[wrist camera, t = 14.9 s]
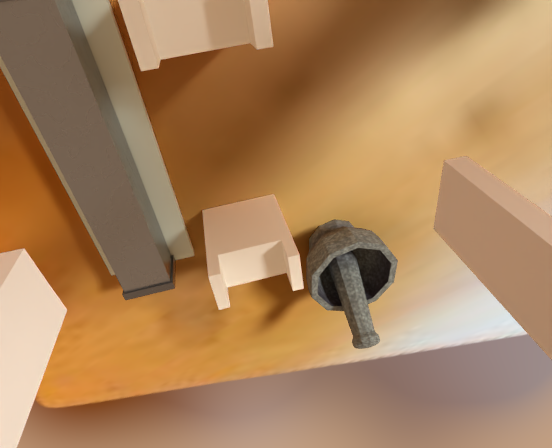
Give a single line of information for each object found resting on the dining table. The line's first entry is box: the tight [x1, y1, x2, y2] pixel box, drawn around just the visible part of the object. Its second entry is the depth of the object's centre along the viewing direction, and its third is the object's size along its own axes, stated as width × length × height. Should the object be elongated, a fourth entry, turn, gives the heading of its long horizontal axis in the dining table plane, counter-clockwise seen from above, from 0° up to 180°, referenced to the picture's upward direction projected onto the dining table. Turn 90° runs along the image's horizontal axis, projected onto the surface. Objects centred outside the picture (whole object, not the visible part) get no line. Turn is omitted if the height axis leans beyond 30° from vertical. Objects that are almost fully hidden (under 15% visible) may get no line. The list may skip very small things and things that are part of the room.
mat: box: [0, 0, 194, 276], centre depth 33 cm, size 26×9×1 cm, turn 8°
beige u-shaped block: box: [202, 194, 304, 310], centre depth 36 cm, size 4×8×10 cm, turn 98°
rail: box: [0, 0, 176, 300], centre depth 31 cm, size 26×5×4 cm, turn 8°
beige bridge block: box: [118, 0, 274, 71], centre depth 24 cm, size 4×8×10 cm, turn 98°
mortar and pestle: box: [306, 220, 398, 349], centre depth 40 cm, size 11×9×12 cm
